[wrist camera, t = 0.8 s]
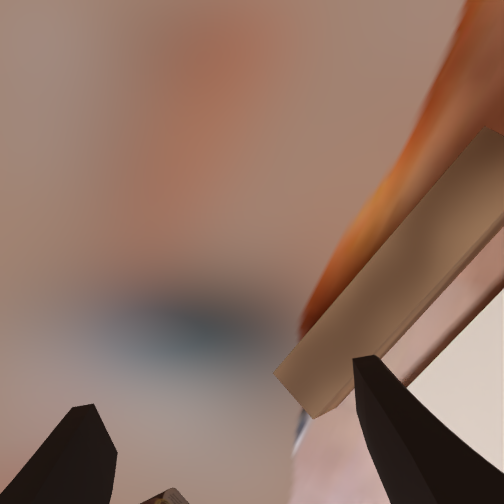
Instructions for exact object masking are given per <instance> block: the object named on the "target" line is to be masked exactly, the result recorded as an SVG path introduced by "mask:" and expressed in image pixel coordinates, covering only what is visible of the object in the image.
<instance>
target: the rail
mask: <svg viewBox="0 0 504 504" xmlns="http://www.w3.org/2000/svg"><path fill="white" fill-rule="evenodd" d="M503 226H504V136H503V135H501V134H499V133H497V132H495V131H493V130H491V129H489V128H487V127H486V126H484V127H483V128H482V130H481V131H480V132H479V133H478V134H477V135H476V137H475V138H474V139H473V140H472V141H471V142H470V144H469V145H468V146H467V147H466V148H465V149H464V151H463V152H462V153H461V154H460V155H459V156H458V158H457V159H456V160H455V161H454V162H453V163H452V165H451V166H450V167H449V168H448V169H447V170H446V172H445V173H444V174H443V175H442V176H441V177H440V179H439V180H438V181H437V182H436V183H435V184H434V186H433V187H432V188H431V189H430V190H429V191H428V193H427V194H426V195H425V196H424V197H423V198H422V200H421V201H420V202H419V203H418V204H417V205H416V207H415V208H414V209H413V210H412V211H411V212H410V214H409V215H408V216H407V217H406V218H405V219H404V221H403V222H402V223H401V224H400V225H399V226H398V228H397V229H396V230H395V231H394V232H393V234H392V235H391V236H390V237H389V238H388V239H387V241H386V242H385V243H384V244H383V245H382V246H381V248H380V249H379V250H378V251H377V252H376V253H375V255H374V256H373V257H372V258H371V259H370V260H369V262H368V263H367V264H366V265H365V266H364V267H363V269H362V270H361V271H360V272H359V273H358V274H357V276H356V277H355V278H354V279H353V280H352V281H351V283H350V284H349V285H348V286H347V287H346V288H345V290H344V291H343V292H342V293H341V294H340V295H339V297H338V298H337V299H336V300H335V301H334V302H333V304H332V305H331V306H330V307H329V308H328V309H327V311H326V312H325V313H324V314H323V315H322V316H321V318H320V319H319V320H318V321H317V322H316V323H315V325H314V326H313V327H312V328H311V329H310V330H309V332H308V333H307V334H306V335H305V336H304V337H303V339H302V340H301V341H300V342H299V343H298V344H297V346H296V347H295V348H294V349H293V350H292V351H291V353H290V354H289V355H288V356H287V357H286V358H285V360H284V361H283V362H282V363H281V364H280V366H279V367H278V368H277V369H276V370H275V371H274V373H273V374H274V375H275V376H276V377H277V378H278V379H279V381H280V382H281V383H282V384H283V385H284V386H285V388H286V389H287V390H288V391H289V392H290V393H291V394H292V395H293V397H294V398H295V399H296V400H297V401H298V402H299V404H300V405H301V406H302V407H303V408H304V409H305V411H306V412H307V413H308V414H309V415H310V416H311V417H312V419H315V418H317V417H319V416H321V415H323V414H325V413H327V412H329V411H330V410H332V409H334V408H336V407H337V406H338V405H339V404H340V403H341V402H342V401H343V400H344V399H345V398H346V397H347V396H348V394H349V393H350V392H351V391H352V390H353V389H354V388H355V386H354V374H353V362H352V358H358V357H364V356H369V355H376V356H377V357H379V358H380V359H382V358H383V356H384V355H385V354H386V353H387V352H388V351H389V350H390V349H391V348H392V347H393V346H394V345H395V343H396V342H397V341H398V340H399V339H400V338H401V337H402V336H403V335H404V334H405V333H406V332H407V330H408V329H409V328H410V327H411V326H412V325H413V324H414V323H415V322H416V321H417V320H418V319H419V317H420V316H421V315H422V314H423V313H424V312H425V311H426V310H427V309H428V308H429V307H430V306H431V304H432V303H433V302H434V301H435V300H436V299H437V298H438V297H439V296H440V295H441V294H442V292H443V291H444V290H445V289H446V288H447V287H448V286H449V285H450V284H451V283H452V282H453V281H454V279H455V278H456V277H457V276H458V275H459V274H460V273H461V272H462V271H463V270H464V269H465V268H466V266H467V265H468V264H469V263H470V262H471V261H472V260H473V259H474V258H475V257H476V256H477V255H478V253H479V252H480V251H481V250H482V249H483V248H484V247H485V246H486V245H487V244H488V243H489V242H490V240H491V239H492V238H493V237H494V236H495V235H496V234H497V233H498V232H499V231H500V230H501V229H502V227H503Z"/></svg>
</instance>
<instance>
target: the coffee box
mask: <svg viewBox="0 0 504 504" xmlns="http://www.w3.org/2000/svg"><path fill="white" fill-rule="evenodd" d="M140 504H189V503H188V502H187V501H186V500H185V499H184V497H183V496H182V495H181V494H180V493H179V492H178V491H177V490H176V489H175V488H170V489H168V490H166V491H164V492H163V493H161V494H158V495H156V496H154V497H153V498H151V499H149V500H147V501H145V502H143V503H140Z"/></svg>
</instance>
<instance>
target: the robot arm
mask: <svg viewBox="0 0 504 504" xmlns="http://www.w3.org/2000/svg"><path fill="white" fill-rule="evenodd" d="M352 362H353V374H354V386H355V398H356V411H357V415H358V418H359V421H360V425H361V428H362V431H363V435H364V438H365V441H366V444H367V447H368V450H369V453H370V455H371V457H372V460H373V462H374V465H375V467H376V469H377V472H378V474H379V477H380V479H381V481H382V484H383V486H384V488H385V491H386V493H387V495H388V498H389V500H390V503H391V504H504V473H503V472H502V471H500V470H499V469H498V468H496V467H495V466H494V465H492V464H491V463H490V462H488V461H487V460H486V459H485V458H483V457H482V456H481V455H480V454H478V453H477V452H476V451H475V450H473V449H472V448H471V447H470V446H469V445H467V444H466V443H465V442H464V441H463V440H461V439H460V438H459V437H458V436H457V435H456V434H455V433H453V432H452V431H451V430H450V429H449V428H448V427H447V426H445V425H444V424H443V423H442V422H441V421H440V420H439V419H438V418H437V417H436V416H435V415H433V414H432V413H431V412H430V411H429V410H428V409H427V408H426V407H425V406H424V405H423V404H422V403H421V402H420V401H419V400H418V399H417V398H416V397H415V396H414V395H413V394H412V393H411V392H410V391H409V390H408V389H407V388H406V387H405V386H404V385H403V384H402V383H401V382H400V381H399V380H398V379H397V378H396V376H395V375H394V374H393V373H392V372H391V371H390V370H389V369H388V368H387V366H386V365H385V364H384V363H383V362H382V361H381V359H380V358H379V357H377V356H376V355H369V356H364V357H358V358H352ZM117 453H118V452H117V450H116V448H115V446H114V444H113V442H112V440H111V438H110V436H109V434H108V432H107V430H106V428H105V426H104V424H103V422H102V420H101V418H100V415H99V414H98V412H97V409H96V407H95V405H94V404H89V405H83V406H77V407H72V408H71V410H70V411H69V412H68V413H67V414H66V415H65V417H64V418H63V419H62V420H61V422H60V423H59V424H58V425H57V426H56V428H55V429H54V430H53V431H52V433H51V434H50V435H49V436H48V438H47V439H46V440H45V441H44V443H43V444H42V445H41V446H40V447H39V449H38V450H37V451H36V452H35V454H34V455H33V456H32V457H31V459H30V460H29V461H28V462H27V463H26V464H25V466H24V467H23V468H22V469H21V471H20V472H19V473H18V474H17V475H16V477H15V478H14V479H13V480H12V482H11V483H10V484H9V485H8V486H7V487H6V488H5V489H4V490H3V492H2V493H1V494H0V504H109V502H110V498H111V495H112V490H113V483H114V477H115V469H116V461H117Z"/></svg>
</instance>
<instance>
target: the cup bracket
mask: <svg viewBox="0 0 504 504" xmlns="http://www.w3.org/2000/svg"><path fill="white" fill-rule="evenodd" d="M407 389H408V390H409V391H410V392H411V393H412V394H413V395H414V396H415V397H416V398H417V399H418V400H419V401H420V402H421V403H422V404H423V405H424V406H425V407H426V408H427V409H428V410H429V411H430V412H431V413H432V414H433V415H435V416H436V417H437V418H438V419H439V420H440V421H441V422H442V423H443V424H444V425H445V426H447V427H448V428H449V429H450V430H451V431H452V432H453V433H455V434H456V435H457V436H458V437H459V438H460V439H461V440H463V441H464V442H465V443H466V444H467V445H469V446H470V447H471V448H472V449H473V450H475V451H476V452H477V453H478V454H480V455H481V456H482V457H483V458H485V459H486V460H487V461H488V462H490V463H491V464H492V465H494V466H495V467H496V468H498V469H499V470H500V471H502V472H503V473H504V289H503V290H502V291H501V292H500V293H499V294H498V295H497V296H496V297H495V298H494V299H493V300H492V301H491V302H490V303H489V304H488V305H487V306H486V307H485V308H484V309H483V310H482V311H481V312H480V313H479V314H478V315H477V316H476V317H475V318H474V319H473V320H472V322H471V323H470V324H469V325H468V326H467V327H466V328H465V329H464V330H463V331H462V332H461V333H460V334H459V335H458V336H457V337H456V338H455V339H454V340H453V341H452V342H451V343H450V344H449V345H448V346H447V347H446V348H445V349H444V350H443V351H442V352H441V353H440V354H439V355H438V356H437V357H436V358H435V359H434V360H433V361H432V362H431V363H430V365H429V366H428V367H427V368H426V369H425V370H424V371H423V372H422V373H421V374H420V375H419V376H418V377H417V378H416V379H415V380H414V381H413V382H412V383H411V384H410V385H409V386H408V387H407Z"/></svg>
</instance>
